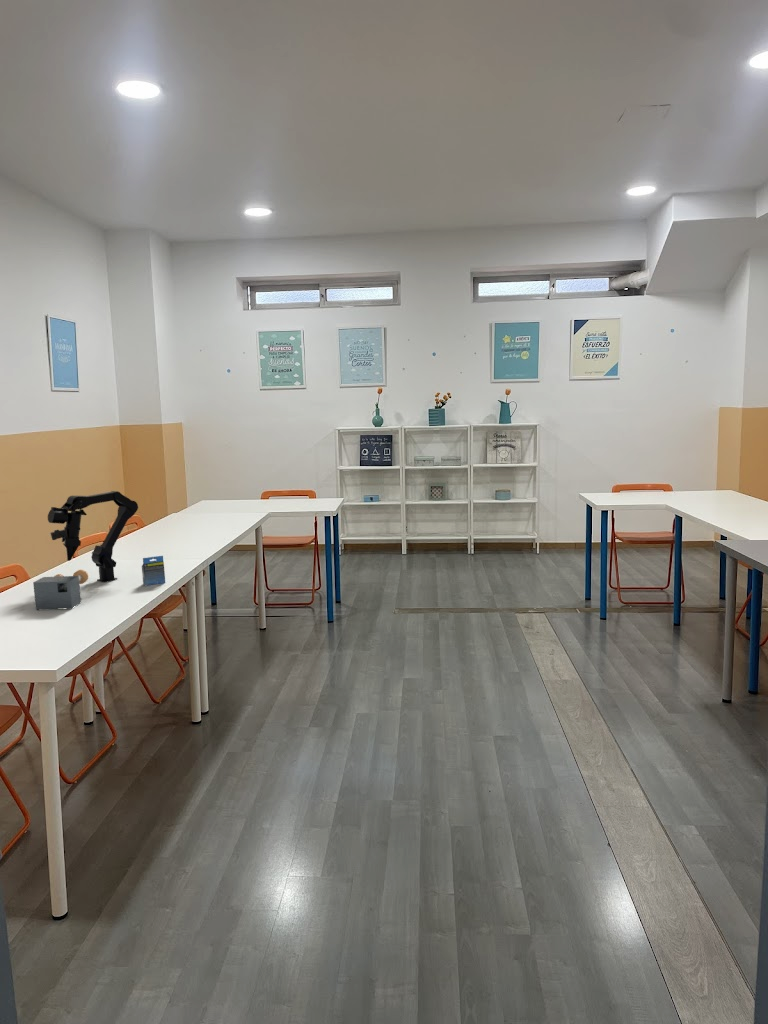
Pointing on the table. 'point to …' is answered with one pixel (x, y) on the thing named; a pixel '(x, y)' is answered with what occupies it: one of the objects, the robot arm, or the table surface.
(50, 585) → the mount
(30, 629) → the table surface
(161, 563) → the label tape cartridge
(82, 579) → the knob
